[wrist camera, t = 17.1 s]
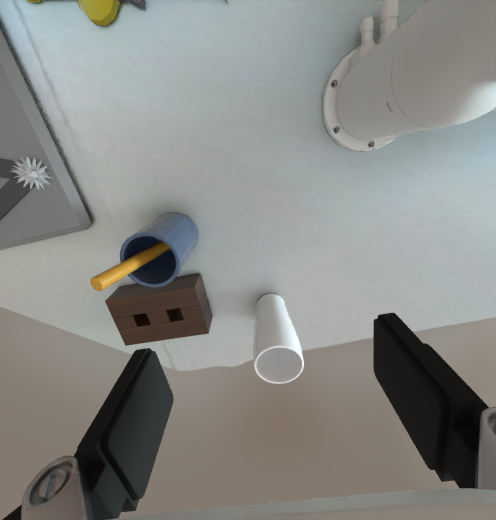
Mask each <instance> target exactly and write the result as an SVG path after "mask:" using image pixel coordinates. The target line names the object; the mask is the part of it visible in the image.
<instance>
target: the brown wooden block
mask: <svg viewBox="0 0 496 520" xmlns="http://www.w3.org/2000/svg"><path fill="white" fill-rule="evenodd" d="M105 302H106V304H107V306H108V308H109V311H110V313H111V315H112V317H113V319H114V322H115V324H116V326H117V328H118V330H119V332H120V335H121V337H122V339H123V341H124V343H125V345H133V344H140V343H146V342H153V341H160V340H167V339H174V338H180V337H187V336H194V335H201V334H208V333H209V329H210V325H211V321H212V313H211V309H210V306H209V302H208V299H207V295H206V292H205V288H204V285H203V281H202V277H201V274H200V273H199V274H193V275H187V276H181V277H175V278H174V279H173V281H172V282H170V283H168V284H167V285H165V286H161V287H146V286H143V285H141V284H133V285H127V286H121V287H119V288H118V289H117V290H116V291H115V292H114V293H113V294H112V295H111V296H110V297H109V298H108V299H107V300H106V301H105Z"/></svg>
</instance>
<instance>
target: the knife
mask: <svg viewBox="0 0 496 520" xmlns="http://www.w3.org/2000/svg"><path fill="white" fill-rule="evenodd" d="M27 1H29V2H36V3H40V1H41V0H27ZM122 1H130V2H132V3H133V4H134V5H136V6H137V7H139V8H143V9H144V7H145V3H146V2H145V1H144V0H78V4H79V7H80V8H81V9H82V11H83V12H84V13H85V14H86V15H87V16H88V18H89V19H90V20H91V21H93V22H94V23H95V24H96V25H104V26H106V25H108V24H109V23H110V22H111V21H113V20H114V19H115V18H116V15H117V12H118V8H119V5H120V2H122ZM225 1H226V2H227V0H225ZM227 3H228V2H227Z"/></svg>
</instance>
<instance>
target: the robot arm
mask: <svg viewBox="0 0 496 520" xmlns="http://www.w3.org/2000/svg"><path fill="white" fill-rule="evenodd" d="M398 7H399V0H384V1H383V2H382V3H381V4H380V37H379V38H378V39H377V42H375V41H373V17H367V18H365V19H363V20H362V21H361V22H360V23H361V45H360V46H359V47H358V48H356V49H355V50H353V51H352V52H350V53H349V54H348V55H347V56H346V57H345V58H343V59H342V60H341V62H340V63H339V64H338V65H337V66H336V68H335V69H334V71H333V72H332V74H331V75H330V77H329V80H328V82H327V84H326V87H325V91H324V95H323V102H322V112H323V119H324V123H325V126H326V128H327V130H328V133H329V134H330V135H331V137H332V138H333V139H334V140H335V141H336V142H337V143H338V144H339V145H341V146H343V147H345V148H346V149H350V150H353V151H370V150H374V149H378V148H380V147H382V146H384V145H386V144H388V143H389V142H391V141H392V140H394V139H395V138H396V137H397V136H398V135H399V134H404V133H410V132H417V131H423V130H430V129H436V128H442V127H447V126H453V125H458V124H462V123H466V122H469V121H471V120H474V119H476V118H479V117H481V116H483V115H485V114H486V113H488V112H490V111H491V110H493V109H494V108H496V0H428V1H427V2H426V3H425V4H424V5H423V6H421V7H420V8H419V9H418V10H417V11H416V12H415V13H414V14H412V15H411V16H410V17H409V18H408V19H407V20H406V21H404V22H403V23H402V24H401V25H400V26H399V27H398V28H397V18H398ZM331 83H333V84H334V87H332V86H331ZM334 128H335V129H336V132H334V131H333V129H334ZM368 143H370V146H368ZM374 373H375V376H376V378H377V380H378V382H379V383H380V385H381V387H382V388H383V390H384V392H385V394H386V396H387V397H388V399H389V401H390V403H391V404H392V406H393V408H394V409H395V411H396V413H397V415H398V416H399V418H400V420H401V422H402V423H403V425H404V427H405V428H406V430H407V432H408V434H409V436H410V437H411V439H412V441H413V443H414V444H415V446H416V448H417V450H418V451H419V453H420V455H421V456H422V458H423V460H424V461H425V464H426V465H427V467H428V468H429V469H430V470H435V471H436V473H437V475H438V476H439V478H440V479H441V481H442V482H443V481H453V480H455V482H456V483H457V485H458V487H459V488H460V489H430V490H416V491H401V492H386V493H375V494H364V495H353V496H341V497H329V498H318V499H306V500H297V501H296V500H295V501H284V502H274V503H263V504H253V505H242V506H231V507H221V508H210V509H201V510H190V511H180V512H170V513H162V514H161V513H160V514H151V515H142V516H134V517H126V518H119V515H120V513H121V512H127V511H135V510H136V508H137V505H138V501H139V499H141V498H142V497H143V496H144V493H145V491H146V488H147V485H148V481H149V478H150V475H151V472H152V469H153V465H154V462H155V459H156V455H157V453H158V449H159V446H160V443H161V440H162V437H163V433H164V430H165V427H166V424H167V421H168V418H169V414H170V411H171V408H172V405H173V394H172V391H171V389H170V387H169V384H168V381H167V379H166V376H165V374H164V372H163V369H162V367H161V364H160V362H159V359H158V357H157V354H156V352H155V351H152V350H151V349H150V348H147V349H140V350H136V351H135V352H134V353H133V355H132V357H131V358H130V360H129V362H128V363H127V365H126V367H125V368H124V370H123V372H122V373H121V375H120V377H119V378H118V380H117V382H116V383H115V385H114V387H113V388H112V390H111V392H110V394H109V395H108V397H107V399H106V400H105V402H104V404H103V405H102V407H101V409H100V410H99V412H98V414H97V415H96V417H95V419H94V420H93V422H92V424H91V426H90V427H89V429H88V430H87V432H86V434H85V436H84V437H83V439H82V441H81V442H80V444H79V446H78V448H77V449H78V450H77V451H76V453H75V455H74V456H64V457H61V458H58V459H56V460H55V461H53V462H51V463H50V464H48V465H47V466H46V467H45V468H43V469H42V470H41V471H40V472H39V473H38V474H37V475H36V476H35V478H34V479H33V480H32V482H31V483H30V484H29V486H28V487H27V489H26V491H25V494H24V496H23V500H22V505H20V506H19V507H18V508H17V509H15V510H14V511H13V512H12V513H10V514H9V515H8V516H7V517H5V518H4V519H3V520H496V407H491V408H489V407H488V406H487V405H486V404H485V403H484V402H483V401H482V400H481V399H480V397H479V396H478V395H477V394H476V393H475V392H474V391H473V390H472V389H471V388H470V387H469V386H468V385H467V384H466V383H465V382H464V381H463V380H462V379H461V378H460V377H459V376H458V375H457V373H456V372H455V371H454V370H452V368H451V367H450V366H449V365H448V364H447V363H446V362H445V361H444V360H443V359H442V358H441V357H440V356H439V355H438V354H437V353H436V351H435V350H434V349H433V348H432V347H431V346H429V345H428V344H425V343H424V344H423V343H422V342H421V341H420V340H419V338H418V337H417V336H416V335H415V334H414V333H413V332H412V331H411V330H410V329H409V328H408V327H407V326H406V324H405V323H404V322H403V321H402V320H401V319H400V318H399V317H398V316H397V315H396V314H395V313H388V314H381V315H378V319H374Z"/></svg>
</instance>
